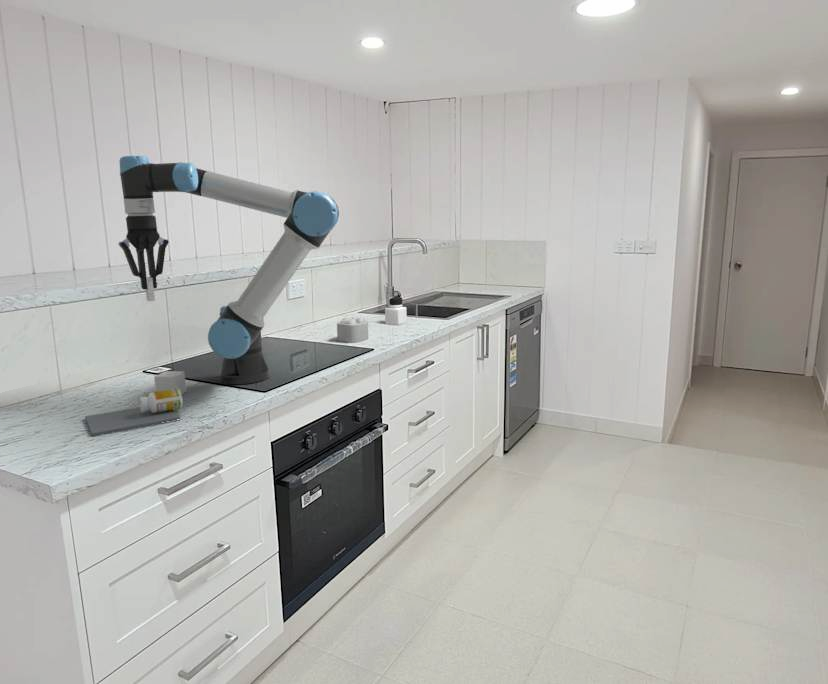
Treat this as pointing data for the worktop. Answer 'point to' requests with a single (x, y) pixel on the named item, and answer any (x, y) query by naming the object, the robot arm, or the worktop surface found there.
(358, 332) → the lumpy-topped squat cylinder
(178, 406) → the supplement bottle
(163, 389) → the grey cube
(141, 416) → the rubber mat
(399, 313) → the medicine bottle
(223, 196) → the robot arm
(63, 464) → the worktop surface
